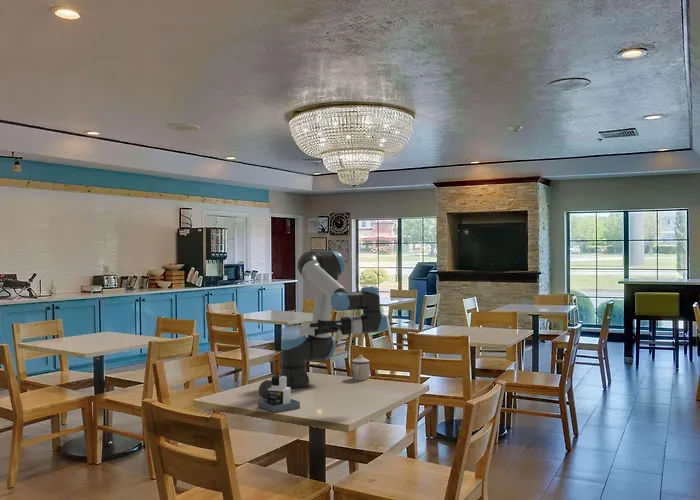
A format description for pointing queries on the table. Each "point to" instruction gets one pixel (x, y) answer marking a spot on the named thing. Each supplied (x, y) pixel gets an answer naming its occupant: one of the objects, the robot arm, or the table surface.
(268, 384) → the disc
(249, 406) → the table surface
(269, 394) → the medicine bottle
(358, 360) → the teacup with lid
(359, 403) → the table surface
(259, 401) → the tray
